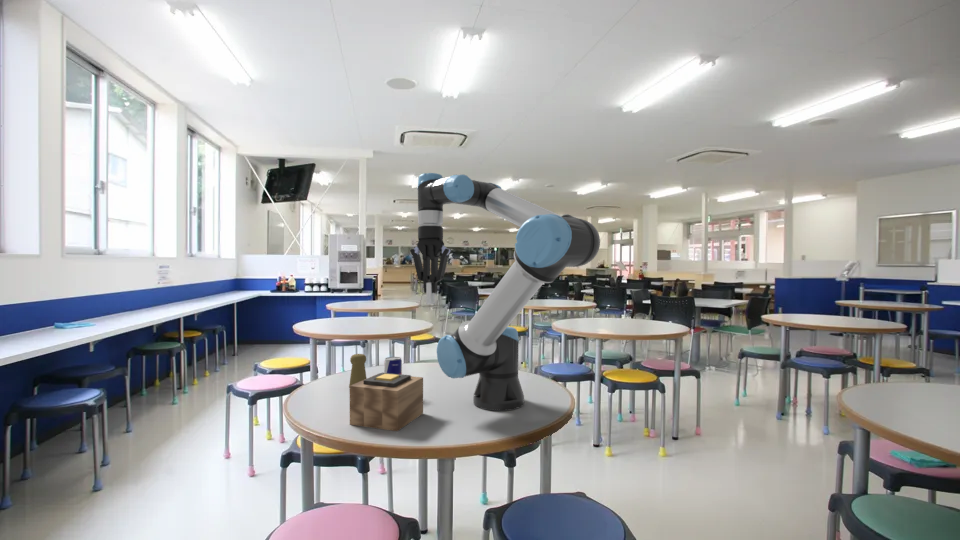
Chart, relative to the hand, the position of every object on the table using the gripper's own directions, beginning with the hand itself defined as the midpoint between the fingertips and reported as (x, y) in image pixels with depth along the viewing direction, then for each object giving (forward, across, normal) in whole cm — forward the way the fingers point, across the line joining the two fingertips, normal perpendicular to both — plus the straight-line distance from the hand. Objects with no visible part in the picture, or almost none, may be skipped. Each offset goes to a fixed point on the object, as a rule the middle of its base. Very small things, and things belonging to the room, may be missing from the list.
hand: (430, 303), depth 133 cm
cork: (+30, +30, -6) cm, 43 cm away
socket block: (+29, +4, +18) cm, 35 cm away
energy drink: (+30, +13, 0) cm, 32 cm away
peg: (+27, +4, +18) cm, 33 cm away
